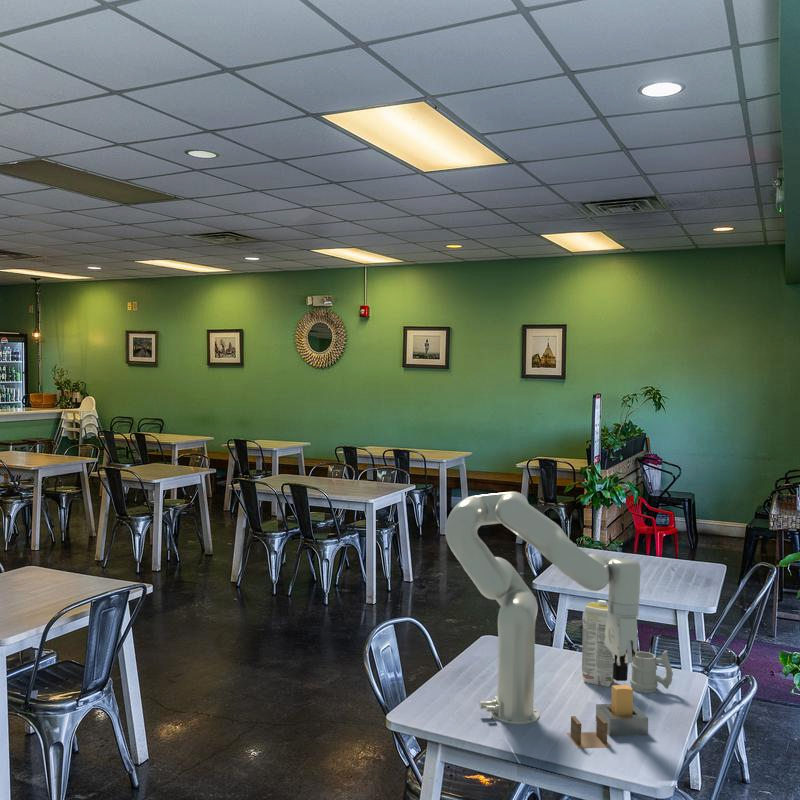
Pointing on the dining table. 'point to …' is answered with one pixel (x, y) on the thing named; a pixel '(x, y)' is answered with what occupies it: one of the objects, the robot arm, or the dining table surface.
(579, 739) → the tan u-shaped piece
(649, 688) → the mug
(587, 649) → the juice carton
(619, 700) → the plug
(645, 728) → the port block
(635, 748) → the dining table surface
